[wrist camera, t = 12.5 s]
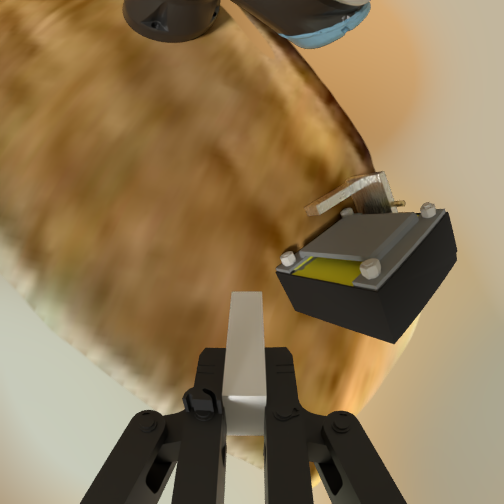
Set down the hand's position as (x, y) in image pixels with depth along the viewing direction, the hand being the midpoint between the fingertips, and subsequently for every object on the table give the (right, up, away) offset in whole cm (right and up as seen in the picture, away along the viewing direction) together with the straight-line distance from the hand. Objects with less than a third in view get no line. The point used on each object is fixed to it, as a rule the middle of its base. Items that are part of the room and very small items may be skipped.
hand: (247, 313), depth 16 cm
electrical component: (+12, +2, +35) cm, 37 cm away
